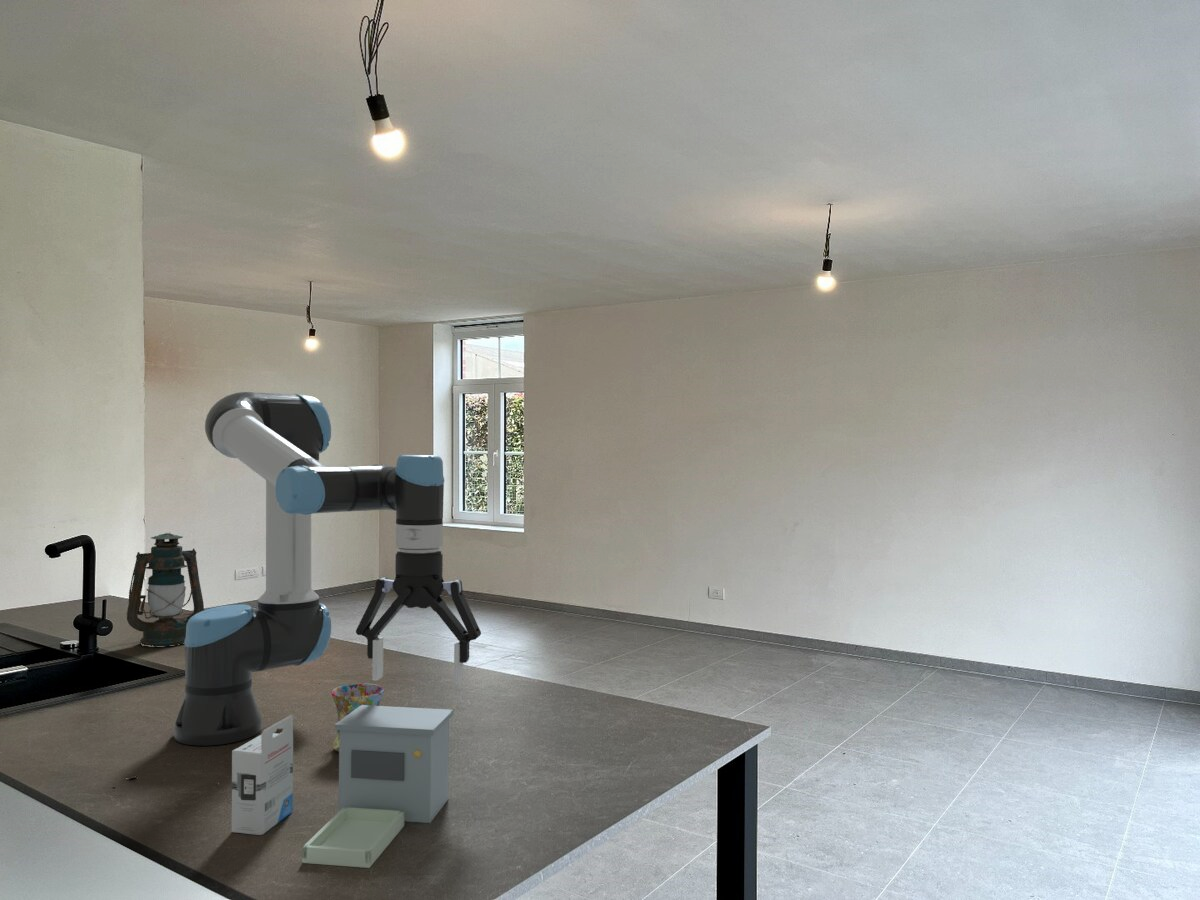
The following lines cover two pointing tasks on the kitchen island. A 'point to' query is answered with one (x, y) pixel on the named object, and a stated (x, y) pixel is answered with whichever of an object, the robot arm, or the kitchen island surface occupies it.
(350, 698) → the mug
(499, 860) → the kitchen island surface
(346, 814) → the tray
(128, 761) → the kitchen island surface
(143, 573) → the lantern
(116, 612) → the kitchen island surface
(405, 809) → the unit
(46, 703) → the kitchen island surface
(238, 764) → the ink box
